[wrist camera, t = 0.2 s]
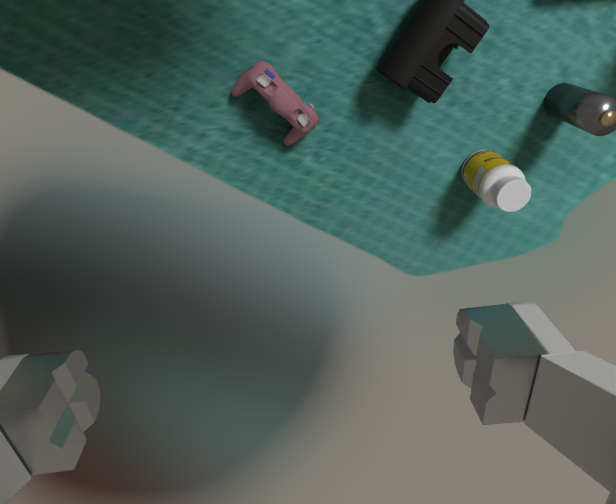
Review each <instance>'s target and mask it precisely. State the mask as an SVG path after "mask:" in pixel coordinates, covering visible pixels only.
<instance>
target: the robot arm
mask: <svg viewBox="0 0 616 504" xmlns="http://www.w3.org/2000/svg"><path fill="white" fill-rule="evenodd" d="M456 325H457V327H458V329H459V331H460V332H461V333H460V334H459V335H458V336H457V337H456V338H455V339H454V350H453V351H454V360H455V366H456V368H457V372H458V375H459V377H460V379H461V381H462V383H464V384H465V385H467V386H468V387H470V388H471V395H470V400H471V402H472V404H473V406H474V408H475V410H476V412H477V414H478V416H479V418H480V420H481V422H482V424H483V425H488V424H500V423H511V422H525V423H524V424H525V425H527V426H528V427H529V428H531V429H532V430H533V431H534V432H536V433H537V434H538V435H539V436H541V437H542V438H543V439H544V440H546V441H547V442H548V443H549V444H551V445H552V446H553V447H554V448H556V449H557V450H558V451H559V452H561V453H562V454H563V455H564V456H566V457H567V458H568V459H569V460H571V461H572V462H573V463H574V464H576V465H577V466H578V467H579V468H581V469H582V470H583V471H584V472H586V473H587V474H588V475H590V476H591V477H592V478H593V479H594V480H596V481H597V482H599V483H600V484H601V485H602V486H603V487H605V488H606V489H607V490H608V491H610V494H609V496H608V498H607V500H606V503H605V504H616V366H614V365H612V364H610V363H608V362H606V361H604V360H601V359H599V358H597V357H595V356H593V355H591V354H589V353H587V352H585V351H575V350H574V349H573V347H572V346H571V345H570V344H569V343H568V342H567V340H566V339H565V338H564V337H563V336H562V334H561V333H560V332H559V331H558V330H557V329H556V327H555V326H554V325H553V324H552V323H551V322H550V320H549V319H548V318H547V317H546V316H545V315H544V313H543V312H542V311H541V310H540V309H539V307H537V305H536V304H535V303H534V302H532V301H529V300H528V301H520V302H512V303H506V304H501V305H492V306H482V307H473V308H465V309H460V310H459V312H458V314H457V319H456ZM87 365H88V362H87V360H86V358H85V356H84V354H83V352H81V351H78V350H67V351H57V352H43V353H31V354H24V355H13V356H6V357H4V358H2V359H0V504H7V502H9V501H10V500H11V499H12V497H13V496H14V495H15V494H16V493H17V492H18V491H19V490H20V489H21V488H22V487H23V486H24V485H25V484H26V483H27V482H28V481H29V480H30V479H31V478H32V477H31V475H38V474H45V473H52V472H59V471H67V470H74V469H75V466H76V464H77V462H78V459H79V457H80V455H81V452H82V450H83V448H84V445H85V443H86V438H85V435H84V433H83V432H84V431H85V430H86V429H87V428H88V427H89V426H90V425H92V424H93V423H94V422H95V419H96V417H97V414H98V412H99V406H100V391H99V386H98V384H97V382H96V379H95V378H94V377H93V376H91V375H89V374H88V373H86V372H85V369H86V367H87Z"/></svg>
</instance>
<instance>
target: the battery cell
mask: <svg viewBox="0 0 616 504" xmlns="http://www.w3.org/2000/svg"><path fill="white" fill-rule="evenodd" d="M544 109H545V111H546V113H547V114H549V115H551V116H553V117H555V118H557V119H560V120H562V121H564V122H566V123H569V124H571V125H573V126H575V127H578V128H580V129H582V130H584V131H587V132H589V133H591V134H593V135H596V136H604V135H607V134H610V133H611V132H613V131H614V130H616V98H614V97H611V96H607V95H604V94H601V93H598V92H594V91H591V90H588V89H585V88H581V87H578V86H575V85H572V84H568V83H561V84H558V85H556V86H554V87H553V88H552V89H551V90H550V91H549V92H548V93H547V95H546V97H545V99H544Z"/></svg>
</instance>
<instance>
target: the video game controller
mask: <svg viewBox="0 0 616 504" xmlns="http://www.w3.org/2000/svg"><path fill="white" fill-rule="evenodd" d="M251 88H254V89H255V90H256V91H257V92H258V93H260V94H261V95H262V96H263V97H264V98H265V99H266V100H267V101H268V103H269V105H270V106H271V107H272V109H273V110H274V111H275V112H276V113H277V114H279V115H280V116H282V117H284V118H286V119H287V120H288V121H289V123H290V124H291V125H292V126H293V128H292V129H291V130H290V132H289V133H288V134H287V136H286V137H285V139H284V144H285V145H292V144H294V143H295V142H297V141H298V140H300V139H301V138H303V137H304V136H305V135H307V134H308V133H309V132H310V131H311V130H312V129H313V128H314V127H315V126H316V124H317V123H318V122H319V117H318V115H317V113H316V112H315V108H314V106H313V105H312V104H309V103H307V104H306V103H304V102H303V101H302V100H301V98H300V97H299V96H298V95H297V94H296V93H295V92H294V91H293V90H292V89H291V88H290V87H289V86H288V85H287V84H286V83H285V82H283V81H282V80H281V78H280V76H279V74H278V73H277V72H276V70H275V69H274V68H273V67H272V66H270V65H269V64H268V63H266V62H264V61H261V60H259V61H258V62H257V63H256V64H255V65H254V66H253V67H250V68H249V69H248V70H246V71H245V72H244V73H243V74H242V75H241V76H240V77H239V79H238V80H237V82H236V83H235V85H234V86H233V89H232V95H233V96H240V95H242V94H243V93H245V92H246V91H247V90H249V89H251Z"/></svg>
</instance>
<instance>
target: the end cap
mask: <svg viewBox="0 0 616 504" xmlns="http://www.w3.org/2000/svg"><path fill="white" fill-rule="evenodd" d="M464 1H465V0H418V2H417V3H416V5H415V6H414V8H413V10H412V11H411V13H410V14H409V16H408V18H407V19H406V21H405V22H404V24H403V26H402V27H401V29H400V30H399V32H398V33H397V35H396V37H395V38H394V40H393V41H392V43H391V45H390V46H389V48H388V49H387V51H386V53H385V54H384V56H383V57H382V59H381V61H380V62H379V64H378V65H377V67H376V69H377V71H379V72H380V73H381V74H383V75H384V76H386V77H387V78H388V79H390V80H391V81H393V82H394V83H396V84H397V85H399V86H400V87H401V88H403V89H405V88H408V89H409V90H411V91H412V92H413V93H415V94H416V95H418V96H419V97H421V98H422V99H424V100H425V101H427V102H428V103H430V102H432V103H435V102H437V100H438V99H439V98H440V96H441V95H442V94H443V92H444V91H445V89H446V88H447V87H448V85H449V84H450V82H451V81H452V80H453V78H451V77H450V76H449V75H447V74H446V73H444V72H443V71H442V70H441V69H440V68H439V67H440V66H441V64H442V63H443V62H444V60H445V59H446V57H447V56H448V54H449V53H450V51H451V50H452V49H453V47H454V48H456V49H457V47H458V46H459V45H460V46H461V47H463V48H464V49H465V50H467V51H468V52H469V53H472V52H473V50H474V49H475V47H476V46H477V45H478V43H479V42H480V40H481V39H482V37H483V36H484V35H485V33H486V32H487V30H488V29H489V24H488V23H487V21H486V20H485V19H484V18H482V17H481V16H480V15H479V14H477V13H476V12H475V11H474V10H472V9H471V8H470V7H469V6H467V5H466V4H465V3H464Z"/></svg>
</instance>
